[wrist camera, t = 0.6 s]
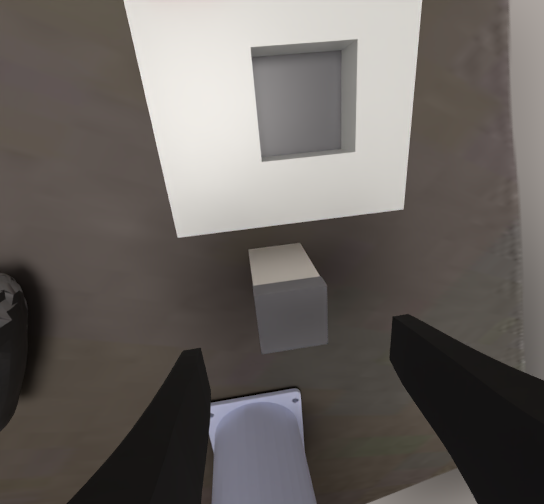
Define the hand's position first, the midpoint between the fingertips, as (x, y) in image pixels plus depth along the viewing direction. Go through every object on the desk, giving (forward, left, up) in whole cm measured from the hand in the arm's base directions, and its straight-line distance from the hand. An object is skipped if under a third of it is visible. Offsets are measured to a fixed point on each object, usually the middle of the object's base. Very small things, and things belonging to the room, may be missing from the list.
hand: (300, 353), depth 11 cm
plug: (-1, 0, -10) cm, 10 cm away
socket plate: (+10, -1, -10) cm, 14 cm away
